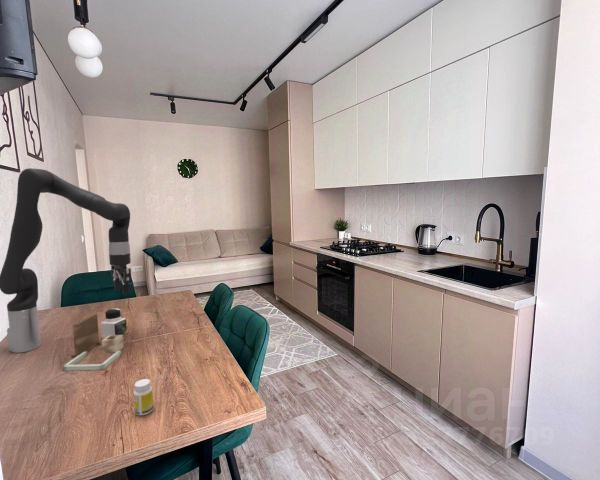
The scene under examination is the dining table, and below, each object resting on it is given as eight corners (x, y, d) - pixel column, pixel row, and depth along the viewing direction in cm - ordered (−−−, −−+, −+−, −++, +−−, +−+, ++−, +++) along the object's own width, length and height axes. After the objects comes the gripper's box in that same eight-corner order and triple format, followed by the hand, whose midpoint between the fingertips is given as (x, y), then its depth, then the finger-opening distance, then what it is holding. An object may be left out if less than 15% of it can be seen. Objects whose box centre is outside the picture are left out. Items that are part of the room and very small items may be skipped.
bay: (62, 370, 116) (62, 366, 116) (84, 355, 128) (83, 351, 128) (103, 369, 116) (102, 365, 116) (121, 354, 129) (120, 350, 128)
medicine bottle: (115, 339, 144) (113, 312, 143) (101, 337, 145) (99, 311, 144) (127, 332, 151) (125, 307, 150) (114, 331, 152) (112, 307, 151)
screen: (71, 357, 126) (68, 325, 125) (91, 343, 139) (89, 314, 138) (84, 357, 126) (81, 325, 125) (103, 343, 139) (101, 314, 138)
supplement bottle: (156, 405, 95) (154, 377, 94) (149, 415, 90) (147, 386, 89) (139, 406, 95) (137, 378, 94) (131, 416, 90) (129, 387, 89)
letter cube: (102, 353, 130) (101, 340, 129) (110, 347, 135) (109, 334, 135) (116, 353, 130) (115, 339, 129) (123, 347, 135) (122, 334, 135)
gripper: (103, 252, 134) (105, 290, 136) (116, 255, 125) (119, 296, 126) (122, 250, 140) (124, 287, 141) (136, 253, 130) (139, 292, 132)
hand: (122, 291), depth 134 cm, fingers open, 8 cm apart
